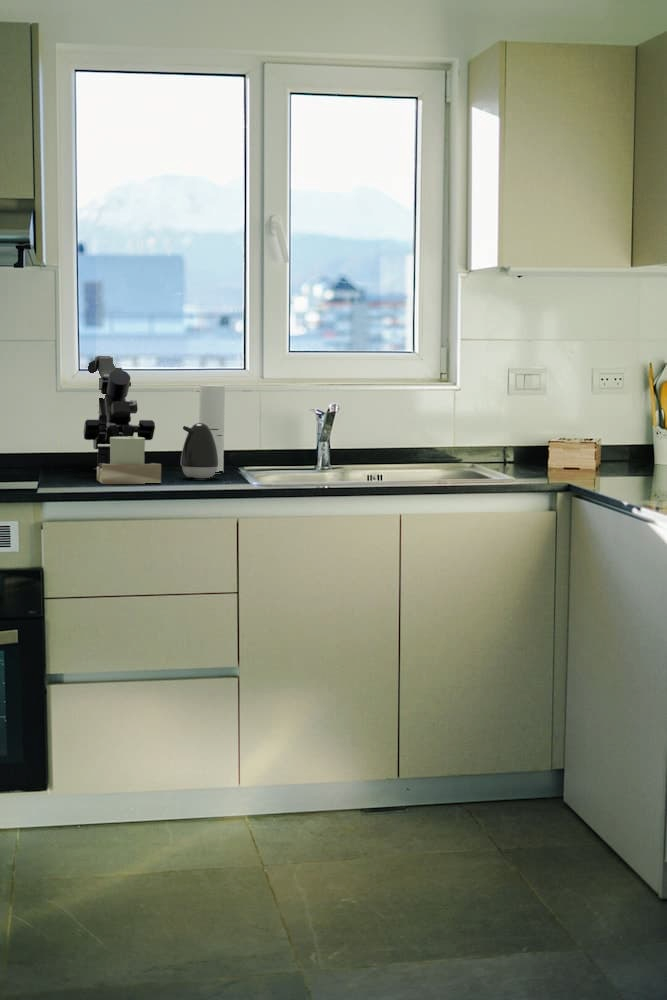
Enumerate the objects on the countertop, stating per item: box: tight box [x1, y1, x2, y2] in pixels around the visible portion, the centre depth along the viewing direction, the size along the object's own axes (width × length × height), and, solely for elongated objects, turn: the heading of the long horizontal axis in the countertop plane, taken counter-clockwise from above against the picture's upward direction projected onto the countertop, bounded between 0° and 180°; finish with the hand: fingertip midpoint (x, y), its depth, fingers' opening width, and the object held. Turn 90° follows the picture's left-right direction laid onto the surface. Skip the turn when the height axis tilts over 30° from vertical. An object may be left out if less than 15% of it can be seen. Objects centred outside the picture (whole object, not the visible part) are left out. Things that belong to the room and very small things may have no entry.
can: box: [109, 435, 146, 464], centre depth 319 cm, size 9×9×12 cm
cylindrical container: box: [198, 384, 226, 472], centre depth 353 cm, size 7×7×25 cm
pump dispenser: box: [180, 422, 218, 479], centre depth 333 cm, size 10×10×15 cm
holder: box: [96, 462, 162, 485], centre depth 319 cm, size 10×15×5 cm
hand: (122, 453), depth 328 cm, fingers closed
